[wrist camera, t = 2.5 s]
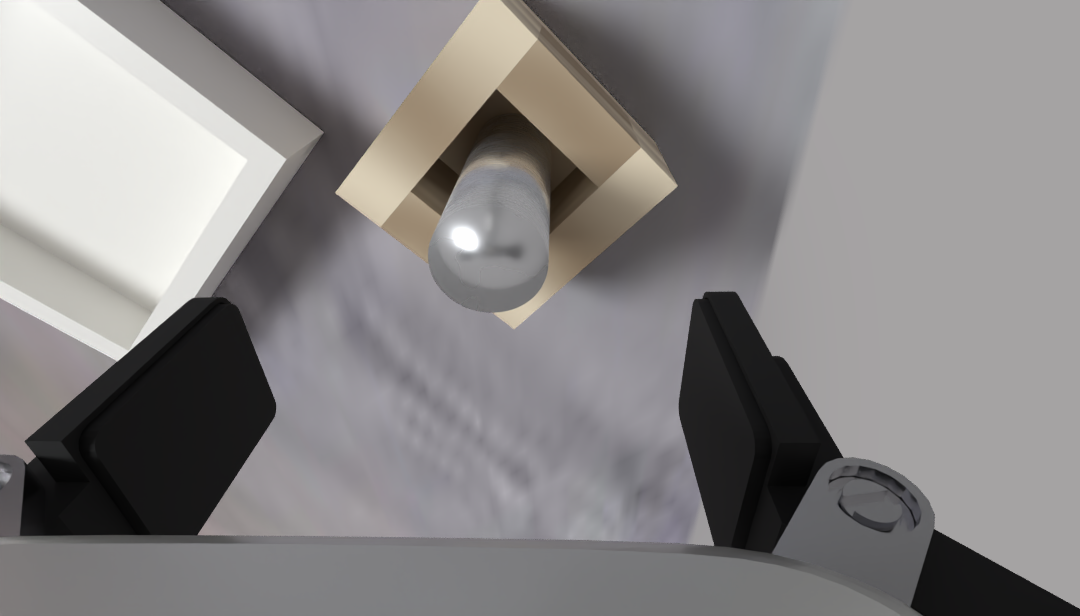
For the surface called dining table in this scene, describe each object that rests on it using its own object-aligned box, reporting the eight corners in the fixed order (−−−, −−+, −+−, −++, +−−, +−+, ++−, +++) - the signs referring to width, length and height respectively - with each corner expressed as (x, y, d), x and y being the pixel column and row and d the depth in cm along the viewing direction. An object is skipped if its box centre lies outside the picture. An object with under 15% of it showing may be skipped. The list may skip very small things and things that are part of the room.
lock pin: (509, 95, 19) (479, 180, 12) (567, 151, 20) (573, 261, 13) (459, 153, 21) (404, 264, 13) (516, 203, 22) (495, 331, 14)
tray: (-68, -182, 16) (-205, -214, 13) (324, 132, 21) (286, 159, 18) (-131, 143, 22) (-236, 171, 19) (187, 330, 27) (142, 374, 24)
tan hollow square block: (505, -18, 18) (488, -13, 14) (654, 142, 21) (677, 185, 17) (378, 148, 22) (335, 192, 17) (522, 266, 24) (514, 329, 20)
